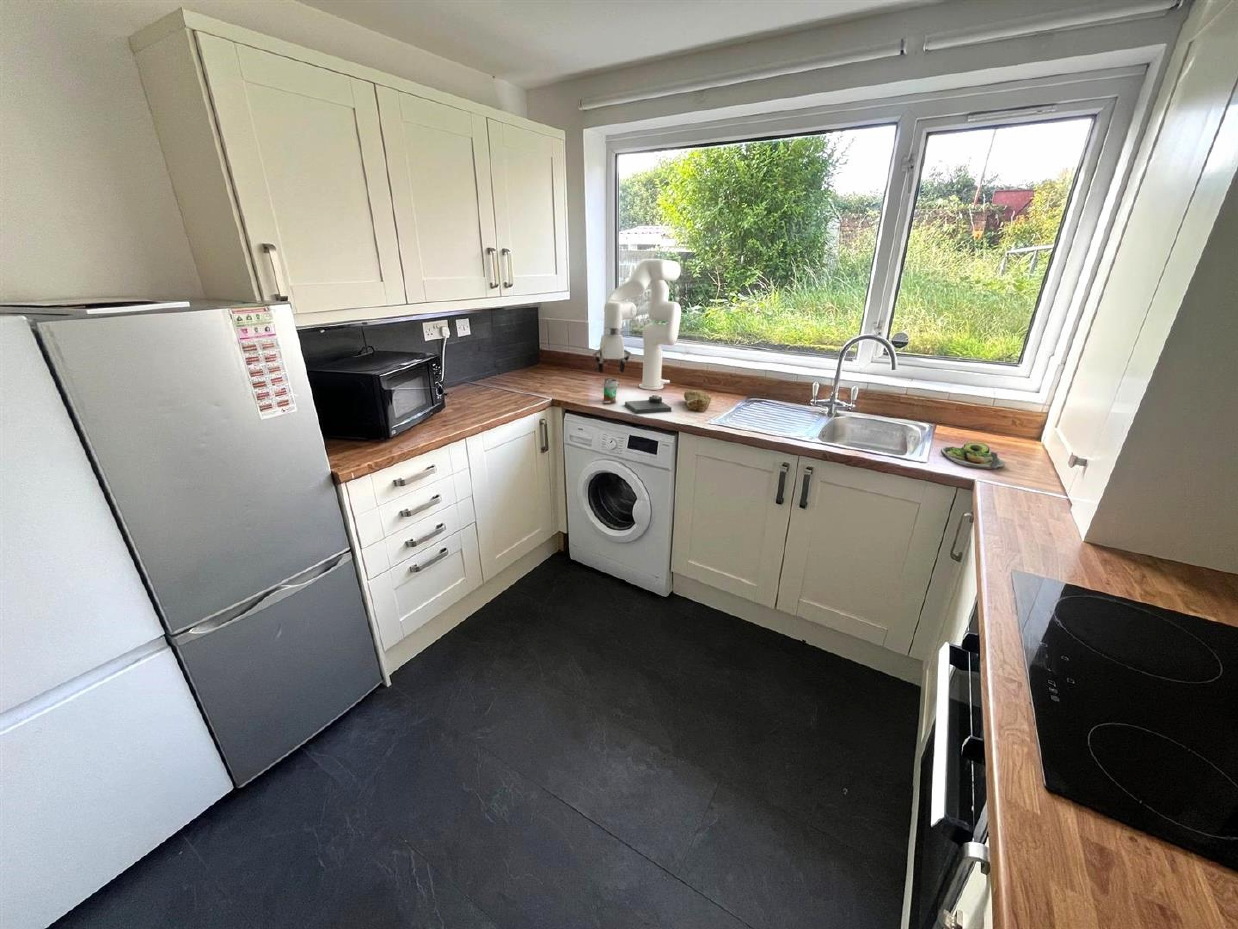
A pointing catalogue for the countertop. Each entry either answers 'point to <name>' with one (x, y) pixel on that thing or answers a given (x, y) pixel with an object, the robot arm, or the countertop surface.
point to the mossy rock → (697, 400)
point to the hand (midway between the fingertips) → (611, 372)
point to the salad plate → (973, 456)
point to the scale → (648, 406)
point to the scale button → (655, 396)
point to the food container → (610, 390)
